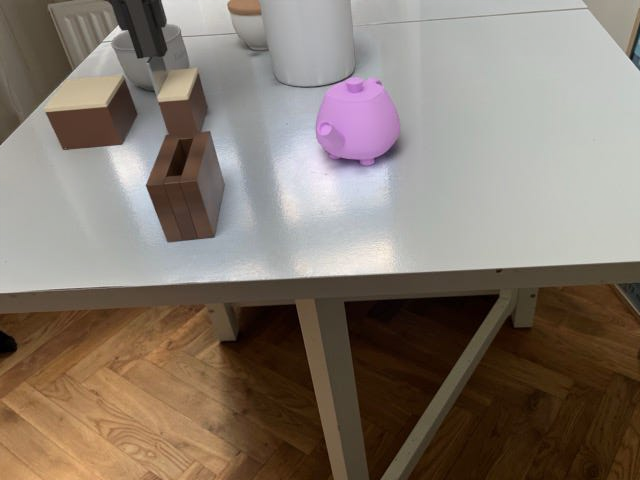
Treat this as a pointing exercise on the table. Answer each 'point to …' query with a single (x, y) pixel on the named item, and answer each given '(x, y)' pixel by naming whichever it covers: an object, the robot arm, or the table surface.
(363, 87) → the teapot
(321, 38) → the utensil holder
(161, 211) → the knife block
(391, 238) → the table surface
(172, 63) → the teacup
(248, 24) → the trinket box
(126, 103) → the cake
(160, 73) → the knife
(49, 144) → the table surface
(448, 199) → the table surface
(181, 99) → the cake slice
